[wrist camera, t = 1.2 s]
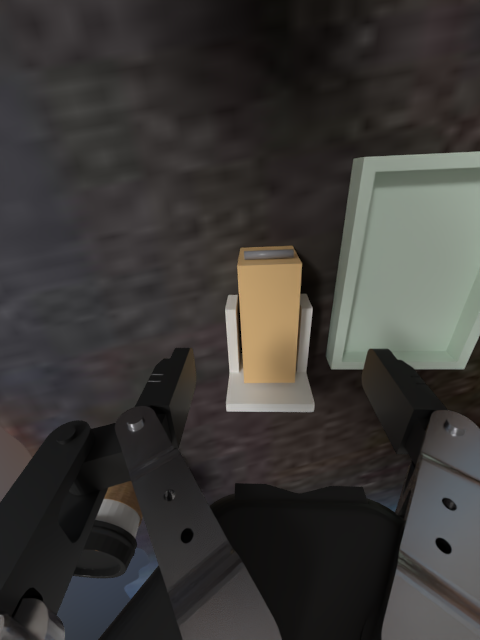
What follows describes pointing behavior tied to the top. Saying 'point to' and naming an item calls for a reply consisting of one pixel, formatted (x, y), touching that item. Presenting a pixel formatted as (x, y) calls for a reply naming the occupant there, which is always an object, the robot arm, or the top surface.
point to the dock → (268, 394)
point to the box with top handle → (269, 312)
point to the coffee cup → (112, 535)
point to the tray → (409, 262)
